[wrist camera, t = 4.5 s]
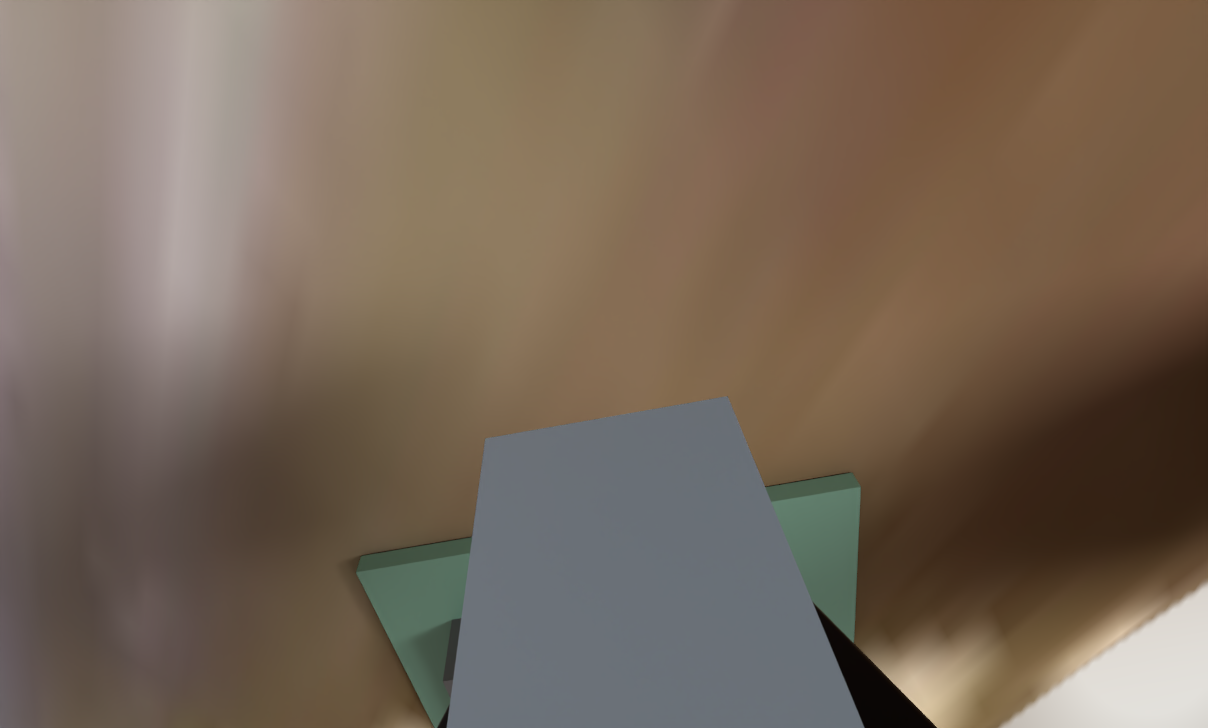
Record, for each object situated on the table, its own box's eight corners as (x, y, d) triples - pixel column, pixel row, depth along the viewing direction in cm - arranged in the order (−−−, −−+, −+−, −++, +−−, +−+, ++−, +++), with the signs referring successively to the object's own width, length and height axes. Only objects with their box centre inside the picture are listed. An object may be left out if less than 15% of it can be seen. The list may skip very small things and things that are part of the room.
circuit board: (852, 472, 19) (860, 486, 18) (842, 751, 26) (848, 766, 26) (361, 556, 19) (355, 572, 19) (484, 808, 26) (483, 825, 26)
